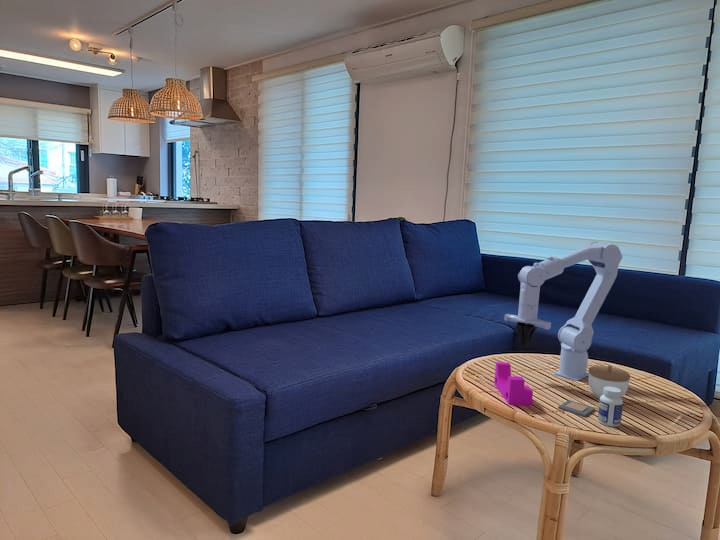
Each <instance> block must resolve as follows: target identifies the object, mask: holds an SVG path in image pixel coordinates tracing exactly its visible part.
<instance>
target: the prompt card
mask: <svg viewBox="0 0 720 540" xmlns="http://www.w3.org/2000/svg"><path fill="white" fill-rule="evenodd" d="M557 408H558V409H559V410H562V411H565V412H568V413H571V414H575V415H577V416H580V417H583V418H585V417H587V416H588V415H590V414H591V413H593V412H594V411H595V410H596V408H595V407H594V406H589V405H586V404H585V403H580V402H576V401H573V400H570V399H568V400H566V401H565V402H563V403H561V404H560V405H559V406H557Z"/></svg>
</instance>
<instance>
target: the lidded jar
mask: <svg viewBox="0 0 720 540" xmlns="http://www.w3.org/2000/svg"><path fill="white" fill-rule="evenodd" d="M588 373H589V375H588V376H587V377H588V379H587V380H588V385H589V388H590V389H589V390H591V392H592V393H593V395H594V397H595V398H596V399H599V400H600V397H601V396H602V395H604V393H603V390H604V387H607V386H610V387H615V388H618V389H620V390H621V396H620V398H621V399H622V397H624V396H625V395H626V393H627V392H628V388H629V386H630V385H629V384H630V380H631V374H630V373H629V372H628V371H626V370H623V369H621V368H618V367H617V368H616V367H614V366H612V365H593V366H590V367H589V368H588Z"/></svg>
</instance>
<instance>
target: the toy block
mask: <svg viewBox="0 0 720 540" xmlns="http://www.w3.org/2000/svg"><path fill="white" fill-rule="evenodd" d="M494 369H495V370H494V381H493V382H494V383H493V385H494V387H495V388H496V389H497V391H498V392H499V393H500V394H501V396H502V397H503V399H504V400H505V402H506V404H507V405H512V406H513V405H514V406H527V407H529V406H530V407H532V404H533V396H534V391H533V389H531V387H530V386H529V385H525V381H526V380H525V378H523V376H517V375H516V376H512V372H511V363H509V362H506V361H505V362H504V361H496V362H495V368H494Z"/></svg>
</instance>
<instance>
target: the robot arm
mask: <svg viewBox="0 0 720 540" xmlns="http://www.w3.org/2000/svg"><path fill="white" fill-rule="evenodd" d="M622 260H623V255H622V252H621V250H620V248H619V246H618V245H617V244H608V243H599V242H597V241H596V242H595V241H592V242H590V243H588V244H587V243H586V244H584V245H582V247H579V248H578V249H575V250H574V251H571V252H569V253H567V254H566V255H564V256H561V257H557V256H553V255H552V256H551V255H549V256H547V257H546V259H545V260H542V261H540V262H534V263H533V265H532V266H531V265H526V266H524V267H522V268H521V270H520V271H519V272H518V274H517V278H518V281H519V282H520V287H519V288H520V290H519V300H518V311H517V312H518V313H517V315H516V314H512V313H511V314H510V313H506V314H504V318H503V320H504V321H505V322H508V321H509V322H514V323H517V324H515V329H516V331H517V333H518V337H519V340H520V347H521V348H525V349H526V348H528V347H529V345H530V341H531V339H532V337H533V336H534V333H535V332H536V331H537V329H538V328H541V329H545V330H551V327H552V322H550V321H547V320H542V319H539V318H538V314H539V313H538V312H539V301H540V291H541V286H542V285H543V284H544V283H545V281H546V280H549V279H551V278H554V277H556V276H559V275H561V274H562V273H563V272H564V269H565V268H568V267H571V266H573V265H576V264H579V263H582V262H585V261H588V262H589V264H590V265H591V266H592V267H593V268H594V271H595V272H596V275H595V276H594V279H593V281H592V283H591V284H590V287H589V288H588V290H587V292H586V294H585V295H584V296H585V297H584V298H583V300H582V302H581V303H580V306H579V308H578V309H577V312H576V314H575V315H574V317H572V318H570V319H568V320H567V321H566V322H565V324H564V325H563V326H562V327H560V328H559V330H558V333H557V338H558V341H559V342H560V346H561V348H560V349H561V350H560V356H559V357H560V358H559V367H558V368H559V369H558V370H557V371H554V372H553V375H556V376H559V377H562V378H567V379H569V380H570V379H571V380H573V381H578V382H579V381H580V380H583V379H584V378H585V377H588V376H589V372H587V371H588V370H587V369H588V362H589V354H588V351H587V350H589V349H590V348H591V345H592V341H593V336H594V333H595V331H594V329H593V326H592V324H593V323H594V320H595V319H596V317H597V314H598V313H599V311H600V309H601V307H602V306H603V304H604V302H605V300H606V297H607V295H608V294H609V292H610V290H611V288H612V286H613V285H614V283H615V281H616V278H617V276H618V273H619V272H618V271H619V265H620V263H621V261H622Z"/></svg>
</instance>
